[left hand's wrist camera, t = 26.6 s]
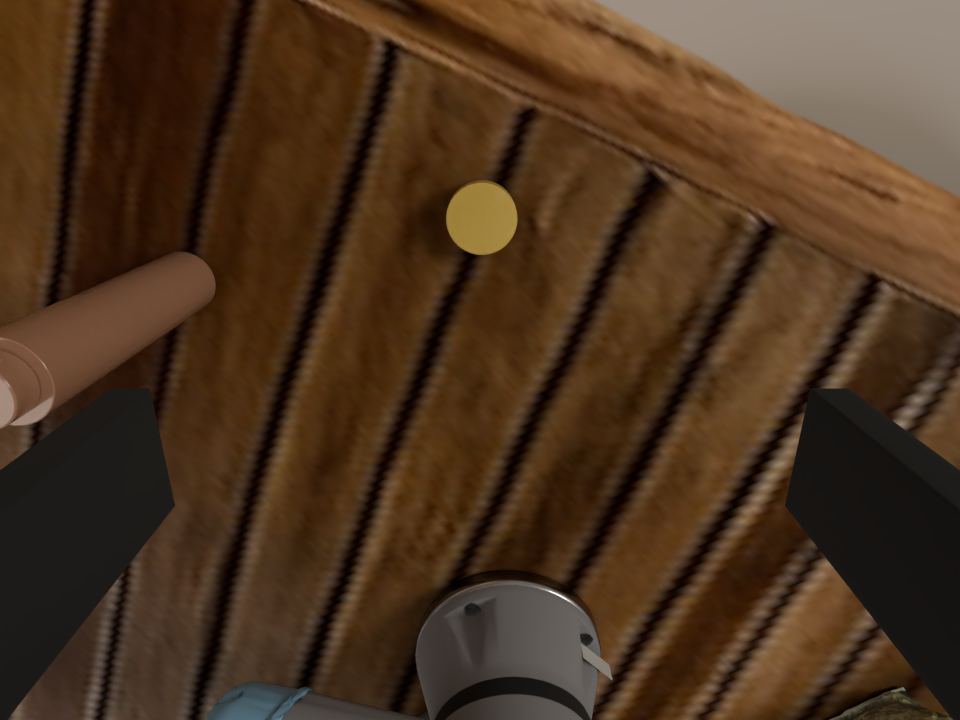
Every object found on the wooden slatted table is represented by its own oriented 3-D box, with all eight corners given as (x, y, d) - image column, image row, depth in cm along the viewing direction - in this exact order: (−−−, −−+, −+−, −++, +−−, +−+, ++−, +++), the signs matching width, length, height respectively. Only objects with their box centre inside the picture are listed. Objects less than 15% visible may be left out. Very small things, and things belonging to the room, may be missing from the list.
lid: (488, 262, 41) (488, 268, 39) (433, 221, 40) (431, 226, 38) (529, 208, 39) (531, 212, 38) (474, 165, 38) (474, 167, 37)
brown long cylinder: (154, 245, 40) (-85, 340, 23) (217, 258, 40) (27, 360, 23) (153, 304, 42) (-71, 433, 25) (214, 315, 42) (33, 451, 25)
